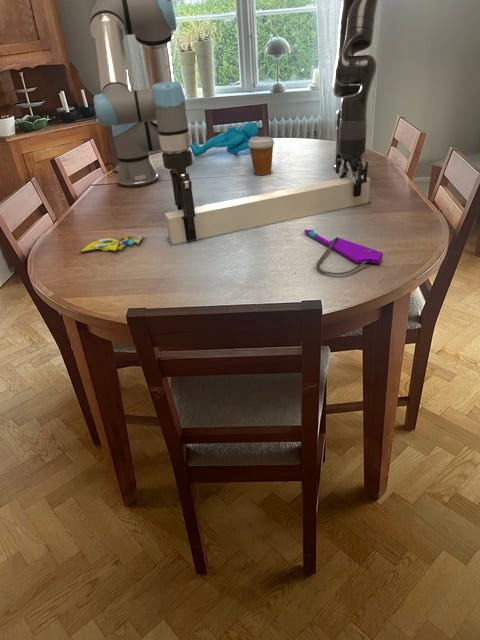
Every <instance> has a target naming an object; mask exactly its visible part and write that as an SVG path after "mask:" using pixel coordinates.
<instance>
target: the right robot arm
mask: <svg viewBox="0 0 480 640" xmlns="http://www.w3.org/2000/svg"><path fill="white" fill-rule="evenodd" d="M378 1H379V0H341V4H340V14H339V23H338V34H337V36H338V37H337V53H336V58H335V59H336V60H335V66H334V73H333V79H332V91H333V95H334V96H335V97H336V98H338V99H339V98H341V100H340V108H338V109H337V111H336V119H335V121H336V122H335V126H336V127H335V153H334V154H335V156H334V157H335V158H334V169H335V174H336V175H337V176H338V178H339V179H341V178H346V177H348V175H349V177H352V178H353V182H354V184H353V196H354V197H358V196H360V195H361V185H362V183H366V182H367V177H368V169H369V162H368V161H366V160H365V161H362V160H363V159H362V155H363V154H364V153H365V152H366V145H367V144H366V143H367V142H366V141H367V127H368V126H367V125H368V124H367V114H368V113H367V111H368V101H369V96H370V91H371V88H372V85H373V83H374V79H375V76H376V72H377V66H378V65H377V61H376V59H375V57H374V55H371V54H361V55H360V54H359V55H355V54H357V53H359V52H363V51H365V50H367V49H369V48H370V47H371V45H372V43H373V38H374V29H375V19H376V11H377V6H378ZM362 175H363V178H362ZM356 176H357V179H356Z"/></svg>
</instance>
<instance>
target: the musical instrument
mask: <svg viewBox="0 0 480 640" xmlns="http://www.w3.org/2000/svg"><path fill="white" fill-rule="evenodd" d="M304 234H306V235H308V236H309V237H310V238H311V239H314V240H316V241H318V242H319V243H321V244H323V245H324V246H326V247H327V249H326V250H325V251H324V253H323V254H322V255H321V257H320V258H319V259H318V260H317V262H316V265H315V266H316V270H317V271H318V272H319V273H320V274H327V275H333V276H341V275H346V274H347V275H348V274H350V273H353V272H355V271H357V270H358V269H360V268H362V267H363V266H364V265H365V264H367V263H371V264H380V263H381V260H382V259H383V256H384V252H382V251H379V250H376V249H373V248H371V247H367V246H365V245H361V244H359V243H355V242H353V241H350V240H347V239H343V238H341V237H338V236H337V237H335V238H334V239H331V240H330V241H329V240H328V239H326V238H324V237H322V236H321V235H319V234H318V233H317V232H314V229H304ZM330 250H333V251H335V252H336V253H338V254H339V255H342V256H343V257H345V258H347V259H348V260H349V261H352V262H353V263H355V264H359V265H357V266H355V267H354V268H352V269H350V270H348V271H347V270H346V271H342V272H333V271H332V272H331V271H325V270H322V269H321V267H320V264H321V263H322V261H323V260H324V258H325V257H326V256H327V254H328V253H329V251H330Z"/></svg>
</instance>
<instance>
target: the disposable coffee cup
mask: <svg viewBox="0 0 480 640" xmlns="http://www.w3.org/2000/svg"><path fill="white" fill-rule="evenodd" d="M248 145H249V147H250V149H249V151H250V155H251V163H252V168H253V173H254V175H257V176H267V175H270V174H271V173H272V165H273V154H274V152H273V151H274V145H275V141H274V138H273V137H270V136H258V137H257V138H252V139H250V140H249V144H248Z"/></svg>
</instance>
